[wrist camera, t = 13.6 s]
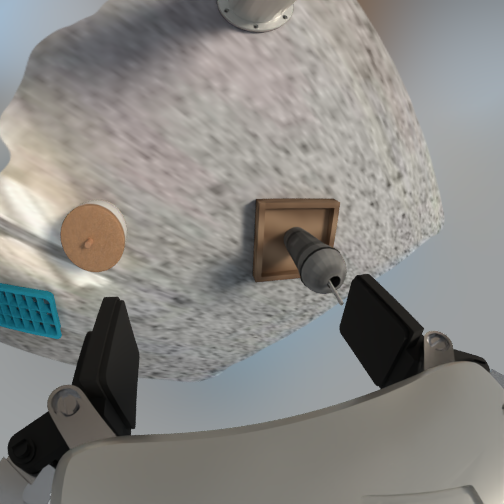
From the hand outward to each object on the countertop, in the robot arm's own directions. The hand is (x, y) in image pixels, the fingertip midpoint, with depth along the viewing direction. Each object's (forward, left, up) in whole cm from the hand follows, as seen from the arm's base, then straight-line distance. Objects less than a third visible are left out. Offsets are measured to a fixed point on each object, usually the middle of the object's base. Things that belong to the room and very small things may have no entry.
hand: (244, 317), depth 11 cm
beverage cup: (+13, +17, -36) cm, 41 cm away
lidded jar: (+8, -17, -37) cm, 41 cm away
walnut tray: (+13, +17, -36) cm, 42 cm away
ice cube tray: (+25, -42, -37) cm, 61 cm away
